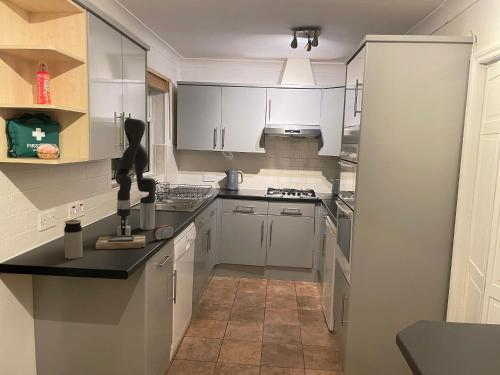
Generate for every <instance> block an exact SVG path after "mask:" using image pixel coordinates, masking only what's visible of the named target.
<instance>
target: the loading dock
mask: <svg viewBox="0 0 500 375" xmlns="http://www.w3.org/2000/svg"><path fill="white" fill-rule="evenodd" d="M141 247H146V235H144V234H143V235H135V234H130V235H117V234H116V235H109V236H106V235H104V236H99V238H98V239H97V241H96V242H95V249H96V250H106V249H107V250H109V249H111V250H113V249H141Z"/></svg>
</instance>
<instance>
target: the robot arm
mask: <svg viewBox="0 0 500 375" xmlns="http://www.w3.org/2000/svg"><path fill="white" fill-rule="evenodd" d="M123 129H124V134H125V136H126V139H127V142H128V146H127V148H126V149H125V150H124V152H123V154H122V156H121V161H120V166H119V168H118V169H117V172H116V175H115V181H116V184H117V185H119V190H117V196H116V197H117V198H116V199H117V200H116V215H117V216H118V217H120V218H119V224H120V225H119V226H121V235H125V230H126V226H128V221H129V220H128V217H129V216H131V190H132V185H133V180H132V176H130V174H129V173H130V172H131V170H133V168H134V170H135V177H136V186H137V189H138V191H139V192H141V193H148V195H146V196H143V197H141V198H140V199H139V201H140V202H139V207H140V208H139V209H140V210H139V216H140V217H139V219H140V220H139V221H140V222H139V226H140V230H146V231H148V230H153V229H154V228H155V227H156V225H155V222H156V220H155V219H156V218H155V216H156V212H155V211H156V210H155V208H156V206H155V205H156V203H155V202H156V201H155V200H156V190H157V189H156V188H157V187H156V185H157V184H156V179H155V178H151V177H144V174H143V173H144V172H145V169H146V167H147V166H148V164H149V157H148V152H147V149H146V148H145V146H144V145H143V144H142V143H141V142H142V141H143V140H142V139H143V136H144V134H145V132H146V123H145V121H144V120H143V119H138V118H137V119H136V118H131V117H129V118H126V119H125V120H124V123H123ZM122 227H124V228H122Z"/></svg>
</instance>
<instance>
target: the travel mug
mask: <svg viewBox="0 0 500 375" xmlns="http://www.w3.org/2000/svg"><path fill="white" fill-rule="evenodd" d="M81 223H82V220H80V219H69V220H67V219H66V220H65V221H64V225H65V226H64V228H63V232H64V233H63V234H64V236H63V237H64V258H65V259H67V258H68V260H76V259H80V258H83V256H84V255H83V227H82V225H81Z"/></svg>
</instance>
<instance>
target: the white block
mask: <svg viewBox="0 0 500 375" xmlns="http://www.w3.org/2000/svg"><path fill="white" fill-rule="evenodd" d="M122 228H124V227H122ZM116 232H117V233H116V235H121V226H120V225H118V226H117V228H116ZM125 235H131V225H127V226H126V230H125Z"/></svg>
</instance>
